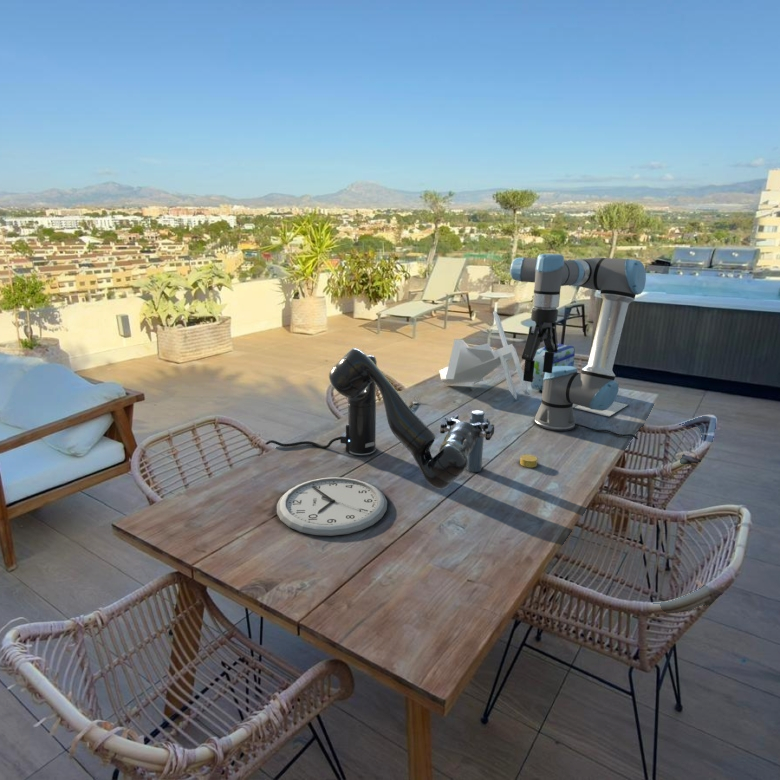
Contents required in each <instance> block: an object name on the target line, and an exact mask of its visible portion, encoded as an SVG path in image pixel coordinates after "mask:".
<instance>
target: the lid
mask: <svg viewBox="0 0 780 780" xmlns="http://www.w3.org/2000/svg"><path fill="white" fill-rule="evenodd" d="M519 464H520V465H521V466H522V467H524V468H530V469H531V468H536V467H537V466H538V457H536V455H533V454H522V455H520V460H519Z"/></svg>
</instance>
